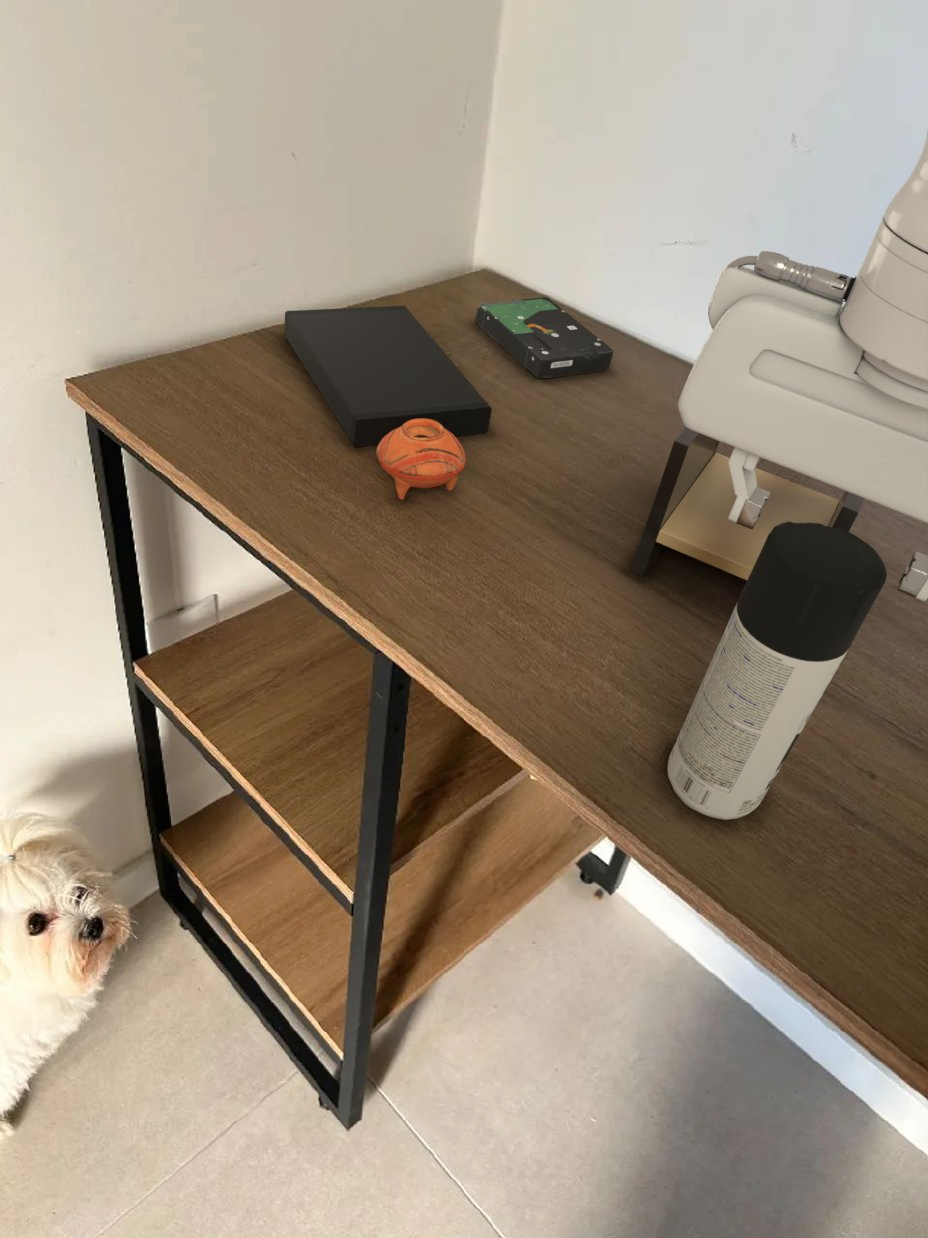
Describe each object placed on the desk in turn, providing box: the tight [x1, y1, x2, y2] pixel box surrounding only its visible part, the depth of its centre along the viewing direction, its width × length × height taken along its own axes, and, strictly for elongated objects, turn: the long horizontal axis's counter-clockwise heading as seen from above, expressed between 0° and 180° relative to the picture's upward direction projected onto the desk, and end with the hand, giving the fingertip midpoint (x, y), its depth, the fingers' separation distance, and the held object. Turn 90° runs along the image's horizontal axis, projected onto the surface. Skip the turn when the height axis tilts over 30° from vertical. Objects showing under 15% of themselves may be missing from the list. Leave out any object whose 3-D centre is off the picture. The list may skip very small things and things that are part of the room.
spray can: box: [666, 521, 888, 821], centre depth 57 cm, size 7×7×20 cm
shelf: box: [630, 426, 865, 581], centre depth 79 cm, size 14×16×15 cm
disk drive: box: [475, 296, 615, 379], centre depth 110 cm, size 10×3×15 cm
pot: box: [375, 418, 467, 500], centre depth 83 cm, size 8×8×7 cm
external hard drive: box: [284, 305, 493, 448], centre depth 97 cm, size 14×23×3 cm, turn 25°
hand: (825, 554), depth 50 cm, fingers open, 8 cm apart
